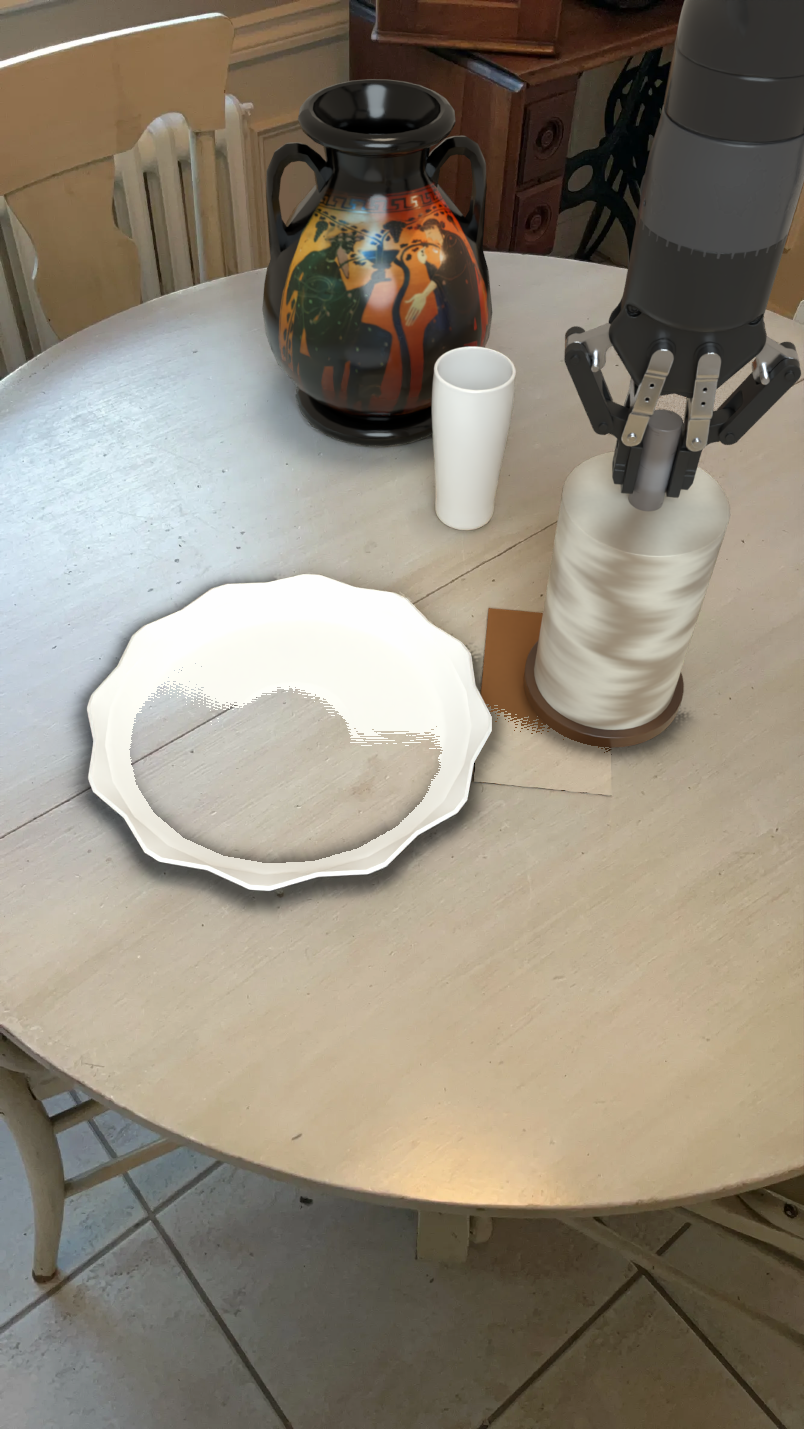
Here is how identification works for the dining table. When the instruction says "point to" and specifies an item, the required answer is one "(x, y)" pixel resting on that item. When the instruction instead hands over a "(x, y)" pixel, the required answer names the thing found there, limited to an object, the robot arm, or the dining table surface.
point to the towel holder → (624, 595)
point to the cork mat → (510, 663)
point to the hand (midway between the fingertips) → (649, 486)
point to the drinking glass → (470, 432)
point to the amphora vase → (374, 261)
